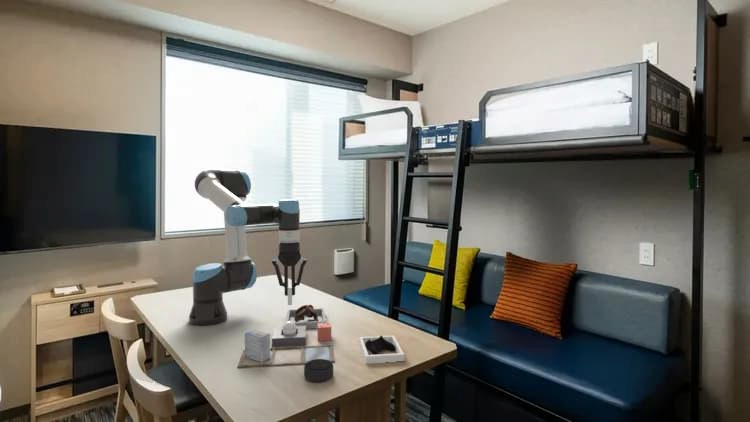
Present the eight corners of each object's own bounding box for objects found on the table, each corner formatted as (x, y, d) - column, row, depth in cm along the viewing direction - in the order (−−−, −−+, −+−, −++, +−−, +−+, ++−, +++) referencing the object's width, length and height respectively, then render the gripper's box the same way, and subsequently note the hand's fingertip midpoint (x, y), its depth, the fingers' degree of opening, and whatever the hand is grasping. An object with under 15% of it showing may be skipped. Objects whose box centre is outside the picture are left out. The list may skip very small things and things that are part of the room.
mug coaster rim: (285, 329, 168) (285, 323, 168) (287, 315, 186) (287, 309, 186) (325, 327, 171) (325, 321, 171) (323, 313, 188) (323, 308, 188)
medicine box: (270, 358, 141) (270, 333, 140) (260, 363, 137) (260, 337, 137) (254, 353, 145) (254, 328, 145) (244, 357, 142) (244, 332, 141)
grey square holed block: (271, 346, 151) (271, 338, 151) (274, 334, 163) (274, 326, 162) (305, 345, 153) (305, 337, 153) (305, 333, 165) (305, 325, 164)
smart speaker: (311, 368, 134) (311, 356, 134) (337, 372, 132) (337, 360, 131) (299, 381, 126) (299, 368, 126) (326, 385, 123) (326, 372, 123)
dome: (282, 338, 155) (282, 324, 154) (283, 333, 160) (283, 319, 159) (296, 337, 156) (296, 323, 155) (296, 333, 160) (296, 318, 160)
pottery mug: (318, 327, 172) (308, 311, 170) (298, 335, 174) (288, 320, 172) (323, 311, 184) (313, 296, 182) (304, 319, 186) (295, 304, 184)
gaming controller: (391, 355, 151) (380, 339, 154) (397, 348, 149) (386, 332, 152) (370, 363, 143) (359, 346, 146) (377, 355, 141) (366, 338, 144)
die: (317, 340, 157) (317, 326, 156) (317, 335, 162) (317, 321, 161) (331, 340, 158) (331, 325, 157) (330, 335, 163) (330, 321, 162)
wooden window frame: (237, 368, 134) (237, 366, 133) (243, 350, 147) (243, 349, 147) (334, 362, 139) (334, 361, 138) (332, 345, 152) (332, 344, 152)
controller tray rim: (365, 363, 138) (365, 356, 137) (359, 343, 154) (359, 337, 154) (404, 361, 140) (404, 354, 140) (393, 342, 157) (393, 335, 156)
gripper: (270, 243, 150) (271, 307, 152) (307, 242, 152) (307, 306, 154) (272, 240, 158) (272, 301, 159) (307, 239, 160) (307, 300, 161)
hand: (290, 303), depth 156 cm, fingers closed
